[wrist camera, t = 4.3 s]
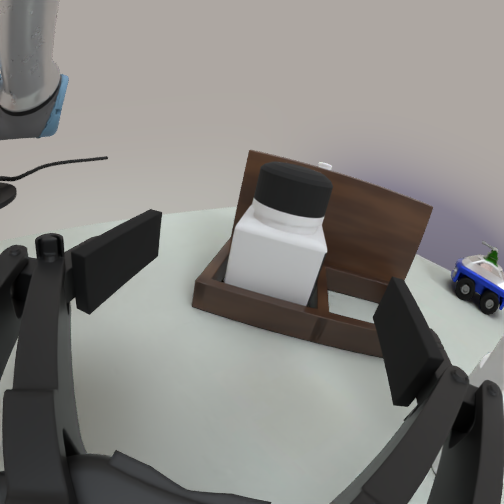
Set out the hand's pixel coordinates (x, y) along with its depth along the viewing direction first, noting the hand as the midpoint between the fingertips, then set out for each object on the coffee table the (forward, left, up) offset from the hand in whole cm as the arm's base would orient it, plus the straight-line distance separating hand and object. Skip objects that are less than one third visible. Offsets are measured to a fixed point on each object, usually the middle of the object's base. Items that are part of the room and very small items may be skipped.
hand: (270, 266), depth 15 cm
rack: (-7, +8, -7) cm, 13 cm away
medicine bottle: (-9, +4, -8) cm, 12 cm away
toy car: (-8, +42, -8) cm, 43 cm away
